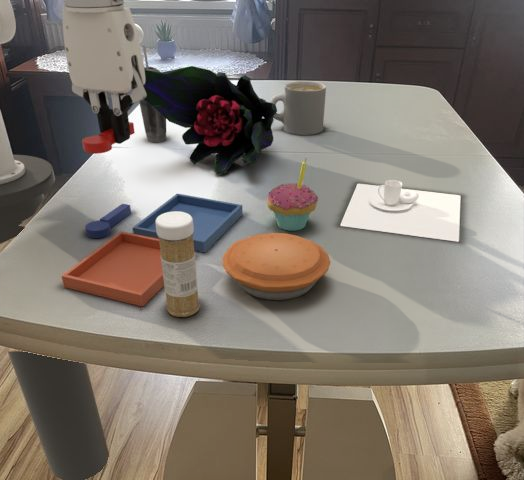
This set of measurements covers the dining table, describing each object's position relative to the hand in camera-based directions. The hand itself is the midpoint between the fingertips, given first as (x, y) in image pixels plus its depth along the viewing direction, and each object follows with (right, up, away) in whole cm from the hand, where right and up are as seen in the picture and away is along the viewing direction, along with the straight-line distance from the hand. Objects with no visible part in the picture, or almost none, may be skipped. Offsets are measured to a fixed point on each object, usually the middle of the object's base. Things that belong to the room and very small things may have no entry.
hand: (116, 139), depth 83 cm
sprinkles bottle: (+11, -27, -8) cm, 30 cm away
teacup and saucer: (+48, -6, +18) cm, 52 cm away
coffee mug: (+31, +24, +55) cm, 67 cm away
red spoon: (-1, -1, -1) cm, 2 cm away
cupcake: (+27, -10, +13) cm, 32 cm away
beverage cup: (-3, +18, +48) cm, 51 cm away
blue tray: (+10, -10, +12) cm, 19 cm away
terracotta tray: (+2, -20, 0) cm, 20 cm away
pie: (+24, -22, -2) cm, 32 cm away
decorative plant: (+14, +8, +35) cm, 39 cm away
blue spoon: (-4, -10, +12) cm, 16 cm away
